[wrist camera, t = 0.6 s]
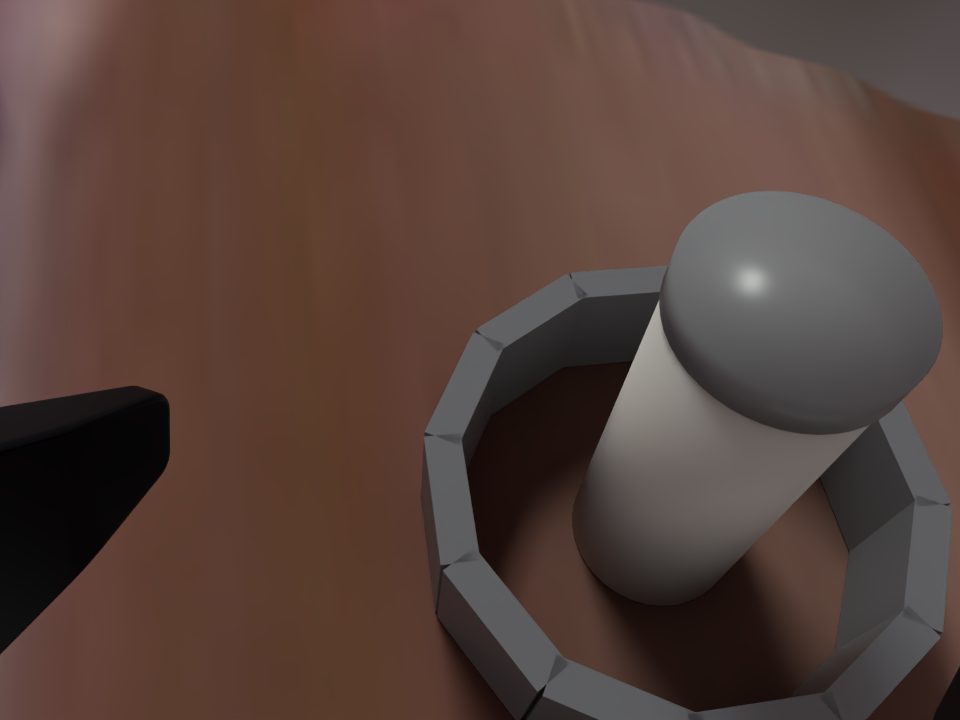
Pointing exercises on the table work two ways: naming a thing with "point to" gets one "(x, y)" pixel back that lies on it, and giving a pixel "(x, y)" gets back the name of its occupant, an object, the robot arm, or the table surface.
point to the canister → (749, 386)
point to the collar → (847, 481)
